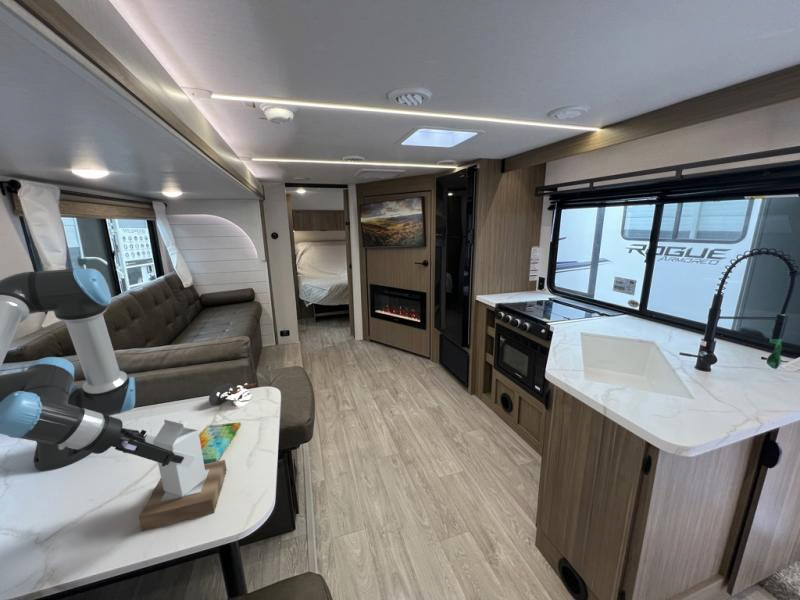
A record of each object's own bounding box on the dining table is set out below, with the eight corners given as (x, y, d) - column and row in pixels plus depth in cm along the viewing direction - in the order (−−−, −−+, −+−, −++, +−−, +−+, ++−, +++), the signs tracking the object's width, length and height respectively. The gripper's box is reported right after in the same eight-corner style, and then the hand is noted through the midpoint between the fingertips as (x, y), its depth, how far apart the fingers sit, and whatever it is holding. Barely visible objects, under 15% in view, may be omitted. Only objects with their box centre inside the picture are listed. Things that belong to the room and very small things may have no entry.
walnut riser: (166, 484, 94) (163, 471, 94) (226, 471, 99) (224, 458, 98) (141, 530, 79) (137, 516, 78) (214, 512, 84) (211, 498, 83)
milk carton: (182, 497, 84) (169, 431, 80) (163, 491, 86) (150, 426, 82) (206, 478, 90) (195, 416, 86) (188, 473, 93) (177, 412, 89)
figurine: (230, 379, 150) (259, 378, 142) (234, 399, 150) (263, 398, 143) (202, 391, 137) (231, 390, 130) (206, 412, 137) (236, 412, 130)
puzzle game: (175, 459, 98) (206, 423, 118) (178, 473, 99) (208, 434, 119) (215, 455, 100) (240, 420, 119) (217, 469, 100) (241, 431, 120)
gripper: (59, 433, 75) (147, 453, 91) (99, 469, 62) (194, 485, 78) (85, 402, 79) (165, 426, 94) (128, 430, 66) (212, 453, 81)
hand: (178, 453), depth 86 cm, fingers open, 13 cm apart
